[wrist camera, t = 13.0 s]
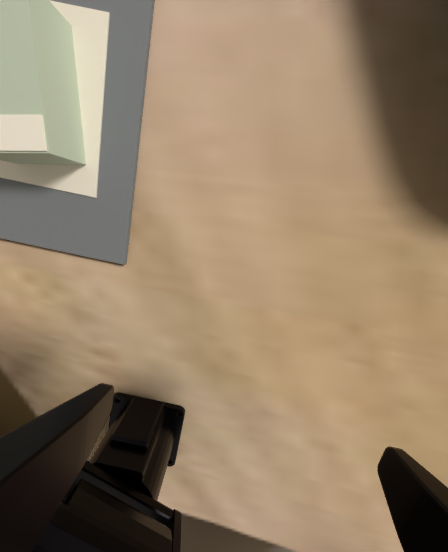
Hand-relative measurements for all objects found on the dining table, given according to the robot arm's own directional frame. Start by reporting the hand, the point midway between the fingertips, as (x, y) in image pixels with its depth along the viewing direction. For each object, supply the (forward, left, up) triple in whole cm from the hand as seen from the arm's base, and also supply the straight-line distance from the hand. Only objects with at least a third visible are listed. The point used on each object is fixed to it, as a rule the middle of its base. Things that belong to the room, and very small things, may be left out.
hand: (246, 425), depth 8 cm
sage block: (+11, +16, -12) cm, 23 cm away
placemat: (+11, +16, -12) cm, 23 cm away
